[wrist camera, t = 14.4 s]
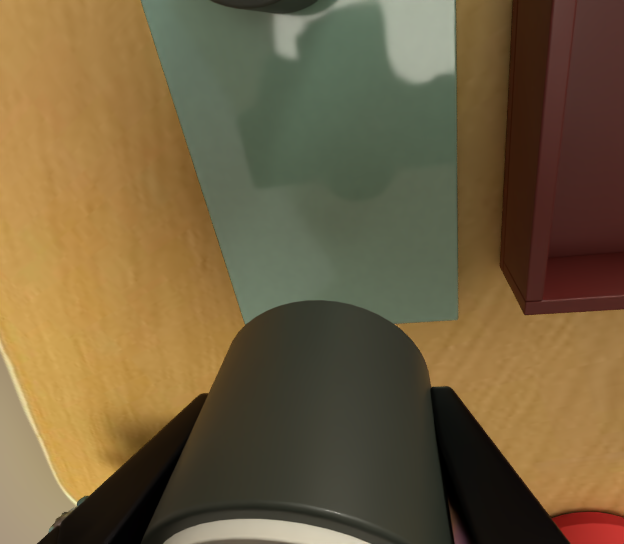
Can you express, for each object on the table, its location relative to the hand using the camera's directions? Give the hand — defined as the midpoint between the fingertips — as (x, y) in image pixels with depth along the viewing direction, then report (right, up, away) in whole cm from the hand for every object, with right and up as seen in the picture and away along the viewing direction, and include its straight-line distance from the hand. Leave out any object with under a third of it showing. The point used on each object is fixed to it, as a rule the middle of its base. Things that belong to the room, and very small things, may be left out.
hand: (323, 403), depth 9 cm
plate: (0, +9, +7) cm, 12 cm away
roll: (0, 0, 0) cm, 1 cm away
